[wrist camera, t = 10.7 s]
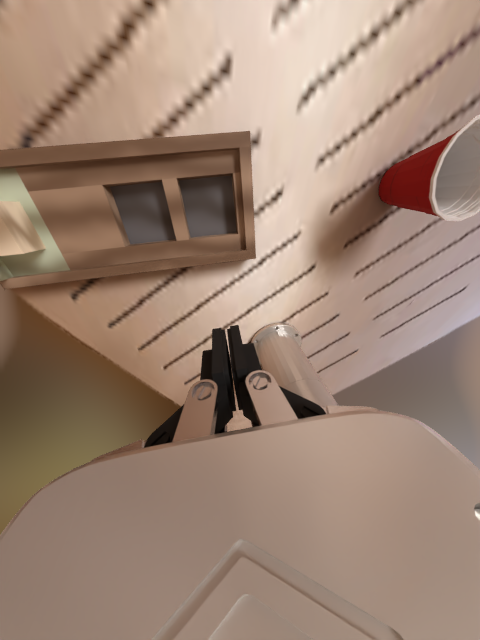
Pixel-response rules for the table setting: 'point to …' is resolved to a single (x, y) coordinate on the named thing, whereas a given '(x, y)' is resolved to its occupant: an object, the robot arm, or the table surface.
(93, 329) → the table surface
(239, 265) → the table surface
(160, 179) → the tray
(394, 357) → the table surface
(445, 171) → the plastic cup
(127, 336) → the table surface
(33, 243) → the maple block
